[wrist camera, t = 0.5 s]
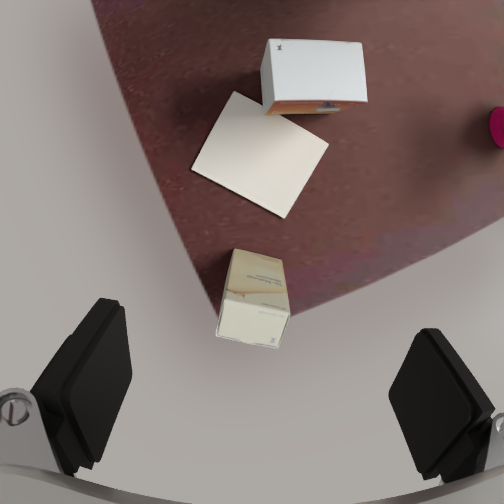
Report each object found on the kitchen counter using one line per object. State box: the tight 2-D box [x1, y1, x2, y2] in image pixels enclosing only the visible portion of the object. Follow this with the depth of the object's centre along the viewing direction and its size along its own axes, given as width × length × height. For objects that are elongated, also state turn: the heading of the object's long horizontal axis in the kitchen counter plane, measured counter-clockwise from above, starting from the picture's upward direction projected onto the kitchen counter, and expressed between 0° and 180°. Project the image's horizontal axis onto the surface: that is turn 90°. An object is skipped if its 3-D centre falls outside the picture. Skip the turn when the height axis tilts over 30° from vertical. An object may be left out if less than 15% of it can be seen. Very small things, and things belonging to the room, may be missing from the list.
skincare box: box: [215, 249, 290, 349], centre depth 34 cm, size 6×4×12 cm
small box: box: [260, 39, 367, 115], centre depth 26 cm, size 8×6×10 cm
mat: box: [191, 91, 329, 219], centre depth 34 cm, size 10×12×1 cm
